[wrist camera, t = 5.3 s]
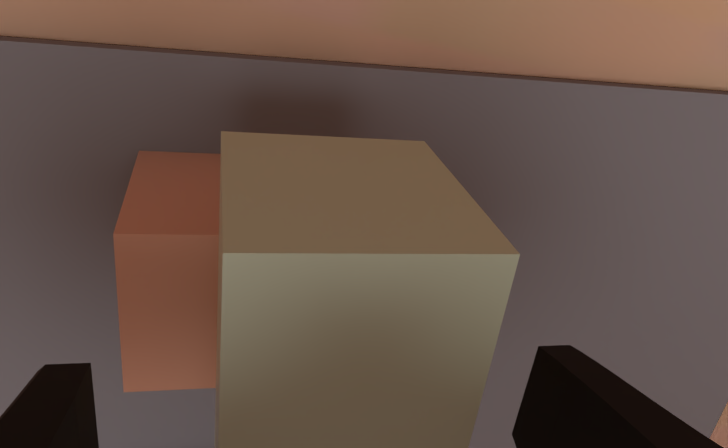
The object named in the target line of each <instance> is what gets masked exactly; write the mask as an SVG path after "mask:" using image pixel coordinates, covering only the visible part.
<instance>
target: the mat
mask: <svg viewBox="0 0 728 448" xmlns="http://www.w3.org/2000/svg"><path fill="white" fill-rule="evenodd" d="M221 131H228V132H248V133H269V134H289V135H309V136H330V137H350V138H370V139H391V140H411V141H425V142H426V144H427V145H428V146H429V147H430V148H431V150H432V151H433V152H434V153H435V154H436V155H437V157H438V158H439V159H440V160H441V161H442V163H443V164H444V165H445V166H446V167H447V168H448V170H449V171H450V172H451V173H452V174H453V176H454V177H455V178H456V179H457V180H458V181H459V183H460V184H461V185H462V186H463V187H464V189H465V190H466V191H467V192H468V193H469V194H470V196H471V197H472V198H473V199H474V200H475V202H476V203H477V204H478V205H479V206H480V207H481V209H482V210H483V211H484V212H485V213H486V214H487V216H488V217H489V218H490V219H491V220H492V222H493V223H494V224H495V225H496V226H497V227H498V229H499V230H500V231H501V232H502V233H503V235H504V236H505V237H506V238H507V239H508V240H509V242H510V243H511V244H512V245H513V246H514V248H515V249H516V250H517V251H518V252H519V253H520V257H519V261H518V264H517V268H516V272H515V275H514V279H513V283H512V287H511V290H510V294H509V298H508V302H507V305H506V309H505V313H504V317H503V320H502V324H501V328H500V331H499V335H498V339H497V343H496V346H495V350H494V354H493V358H492V361H491V365H490V369H489V373H488V376H487V380H486V384H485V388H484V391H483V395H482V399H481V402H480V406H479V410H478V414H477V417H476V421H475V425H474V429H473V432H472V436H471V440H470V444H469V447H468V448H516V445H515V442H514V439H513V436H512V431H513V428H514V425H515V421H516V418H517V415H518V412H519V408H520V405H521V402H522V398H523V395H524V392H525V388H526V385H527V382H528V379H529V375H530V372H531V369H532V365H533V362H534V359H535V355H536V352H537V349H538V346H555V345H571V346H573V347H574V348H576V349H578V350H579V351H581V352H583V353H584V354H586V355H587V356H589V357H590V358H592V359H593V360H595V361H596V362H598V363H599V364H601V365H602V366H604V367H605V368H607V369H608V370H610V371H611V372H613V373H614V374H615V375H617V376H618V377H620V378H621V379H623V380H624V381H626V382H627V383H628V384H630V385H631V386H633V387H634V388H636V389H637V390H639V391H640V392H641V393H643V394H644V395H646V396H647V397H649V398H650V399H651V400H653V401H654V402H656V403H657V404H659V405H660V406H662V407H663V408H664V409H666V410H667V411H669V412H670V413H672V414H673V415H675V416H676V417H678V418H679V419H681V420H682V421H684V422H685V423H686V424H688V425H689V426H691V427H692V428H694V429H695V430H697V431H698V432H700V433H701V434H703V435H705V436H706V437H708V438H710V436H711V434H712V432H713V430H714V428H715V426H716V424H717V422H718V420H719V418H720V416H721V414H722V412H723V410H724V408H725V406H726V404H727V402H728V91H714V90H701V89H688V88H675V87H662V86H649V85H636V84H622V83H609V82H596V81H583V80H570V79H557V78H544V77H531V76H517V75H504V74H491V73H478V72H465V71H452V70H439V69H426V68H412V67H399V66H386V65H373V64H360V63H347V62H334V61H320V60H307V59H294V58H281V57H268V56H255V55H242V54H229V53H215V52H202V51H189V50H176V49H163V48H150V47H137V46H124V45H110V44H97V43H84V42H71V41H58V40H45V39H32V38H18V37H5V36H0V416H1V415H2V414H3V413H4V412H5V410H6V409H7V408H8V407H9V406H10V404H11V403H12V402H13V401H14V399H15V398H16V397H17V396H18V395H19V393H20V392H21V391H22V390H23V388H24V387H25V386H26V385H27V384H28V382H29V381H30V380H31V379H32V377H33V376H34V375H35V374H36V372H37V371H38V370H39V369H41V368H42V367H43V366H44V365H45V364H70V363H91V370H92V381H93V391H94V402H95V412H96V423H97V433H98V444H99V448H215V399H216V388H205V389H183V390H162V391H141V392H124V391H123V376H122V361H121V346H120V331H119V315H118V300H117V285H116V270H115V255H114V239H113V233H114V230H115V226H116V223H117V220H118V217H119V213H120V210H121V207H122V204H123V201H124V197H125V194H126V191H127V188H128V184H129V181H130V178H131V175H132V172H133V168H134V165H135V162H136V159H137V155H138V152H139V151H161V152H186V153H211V154H221Z"/></svg>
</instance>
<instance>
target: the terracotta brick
mask: <svg viewBox="0 0 728 448" xmlns="http://www.w3.org/2000/svg"><path fill="white" fill-rule="evenodd" d="M220 155H221V154H211V153H186V152H161V151H139V152H138V155H137V159H136V162H135V165H134V168H133V172H132V175H131V178H130V181H129V184H128V188H127V191H126V194H125V197H124V201H123V204H122V207H121V210H120V213H119V217H118V220H117V223H116V226H115V230H114V233H113V239H114V255H115V270H116V285H117V300H118V315H119V331H120V346H121V361H122V376H123V391H124V392H141V391H162V390H183V389H205V388H216V350H217V301H218V253H219V204H220Z"/></svg>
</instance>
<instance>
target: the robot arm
mask: <svg viewBox="0 0 728 448" xmlns="http://www.w3.org/2000/svg"><path fill="white" fill-rule="evenodd" d="M512 436H513V439H514V442H515V445H516V448H723V447H721V446H720V445H718V444H717V443H715V442H714V441H712V440H711V439H709V438H708V437H706V436H705V435H703V434H701V433H700V432H698V431H697V430H695V429H694V428H692V427H691V426H689V425H688V424H686V423H685V422H684V421H682V420H681V419H679V418H678V417H676V416H675V415H673V414H672V413H670V412H669V411H667V410H666V409H664V408H663V407H662V406H660V405H659V404H657V403H656V402H654V401H653V400H651V399H650V398H649V397H647V396H646V395H644V394H643V393H641V392H640V391H639V390H637V389H636V388H634V387H633V386H631V385H630V384H628V383H627V382H626V381H624V380H623V379H621V378H620V377H618V376H617V375H615V374H614V373H613V372H611V371H610V370H608V369H607V368H605V367H604V366H602V365H601V364H599V363H598V362H596V361H595V360H593V359H592V358H590V357H589V356H587V355H586V354H584V353H583V352H581V351H579V350H578V349H576V348H574V347H573V346H571V345H555V346H538V349H537V352H536V355H535V359H534V362H533V365H532V369H531V372H530V375H529V379H528V382H527V385H526V388H525V392H524V395H523V398H522V402H521V405H520V408H519V412H518V415H517V418H516V421H515V425H514V428H513V431H512ZM0 448H99V444H98V433H97V423H96V412H95V402H94V391H93V381H92V370H91V363H70V364H45V365H44V366H43V367H42V368H41V369H39V370H38V371H37V372H36V374H35V375H34V376H33V377H32V379H31V380H30V381H29V382H28V384H27V385H26V386H25V387H24V388H23V390H22V391H21V392H20V393H19V395H18V396H17V397H16V398H15V399H14V401H13V402H12V403H11V404H10V406H9V407H8V408H7V409H6V410H5V412H4V413H3V414H2V415H1V416H0Z"/></svg>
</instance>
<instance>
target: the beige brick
mask: <svg viewBox="0 0 728 448" xmlns="http://www.w3.org/2000/svg"><path fill="white" fill-rule="evenodd" d="M519 257H520V253H519V252H518V251H517V250H516V249H515V248H514V246H513V245H512V244H511V243H510V242H509V240H508V239H507V238H506V237H505V236H504V235H503V233H502V232H501V231H500V230H499V229H498V227H497V226H496V225H495V224H494V223H493V222H492V220H491V219H490V218H489V217H488V216H487V214H486V213H485V212H484V211H483V210H482V209H481V207H480V206H479V205H478V204H477V203H476V202H475V200H474V199H473V198H472V197H471V196H470V194H469V193H468V192H467V191H466V190H465V189H464V187H463V186H462V185H461V184H460V183H459V181H458V180H457V179H456V178H455V177H454V176H453V174H452V173H451V172H450V171H449V170H448V168H447V167H446V166H445V165H444V164H443V163H442V161H441V160H440V159H439V158H438V157H437V155H436V154H435V153H434V152H433V151H432V150H431V148H430V147H429V146H428V145H427V144H426V142H425V141H411V140H391V139H370V138H350V137H330V136H309V135H289V134H269V133H248V132H228V131H221V155H220V204H219V253H218V301H217V350H216V399H215V448H468V447H469V444H470V440H471V436H472V432H473V429H474V425H475V421H476V417H477V414H478V410H479V406H480V402H481V399H482V395H483V391H484V388H485V384H486V380H487V376H488V373H489V369H490V365H491V361H492V358H493V354H494V350H495V346H496V343H497V339H498V335H499V331H500V328H501V324H502V320H503V317H504V313H505V309H506V305H507V302H508V298H509V294H510V290H511V287H512V283H513V279H514V275H515V272H516V268H517V264H518V261H519Z"/></svg>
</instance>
